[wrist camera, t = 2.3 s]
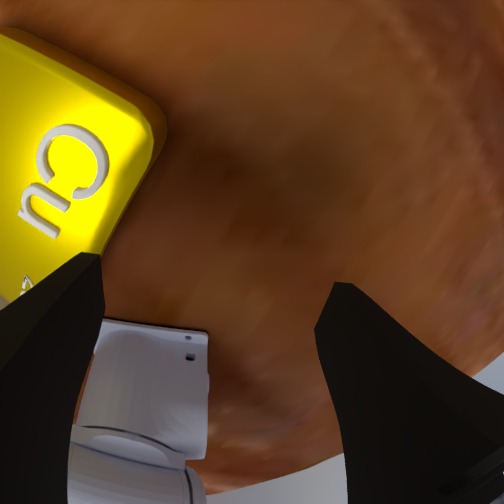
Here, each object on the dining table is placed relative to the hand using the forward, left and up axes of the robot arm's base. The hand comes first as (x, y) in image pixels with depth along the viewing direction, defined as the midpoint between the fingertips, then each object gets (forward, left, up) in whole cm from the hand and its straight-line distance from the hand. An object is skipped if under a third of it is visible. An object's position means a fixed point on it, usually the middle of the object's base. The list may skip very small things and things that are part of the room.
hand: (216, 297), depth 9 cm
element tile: (+12, 0, -10) cm, 16 cm away
